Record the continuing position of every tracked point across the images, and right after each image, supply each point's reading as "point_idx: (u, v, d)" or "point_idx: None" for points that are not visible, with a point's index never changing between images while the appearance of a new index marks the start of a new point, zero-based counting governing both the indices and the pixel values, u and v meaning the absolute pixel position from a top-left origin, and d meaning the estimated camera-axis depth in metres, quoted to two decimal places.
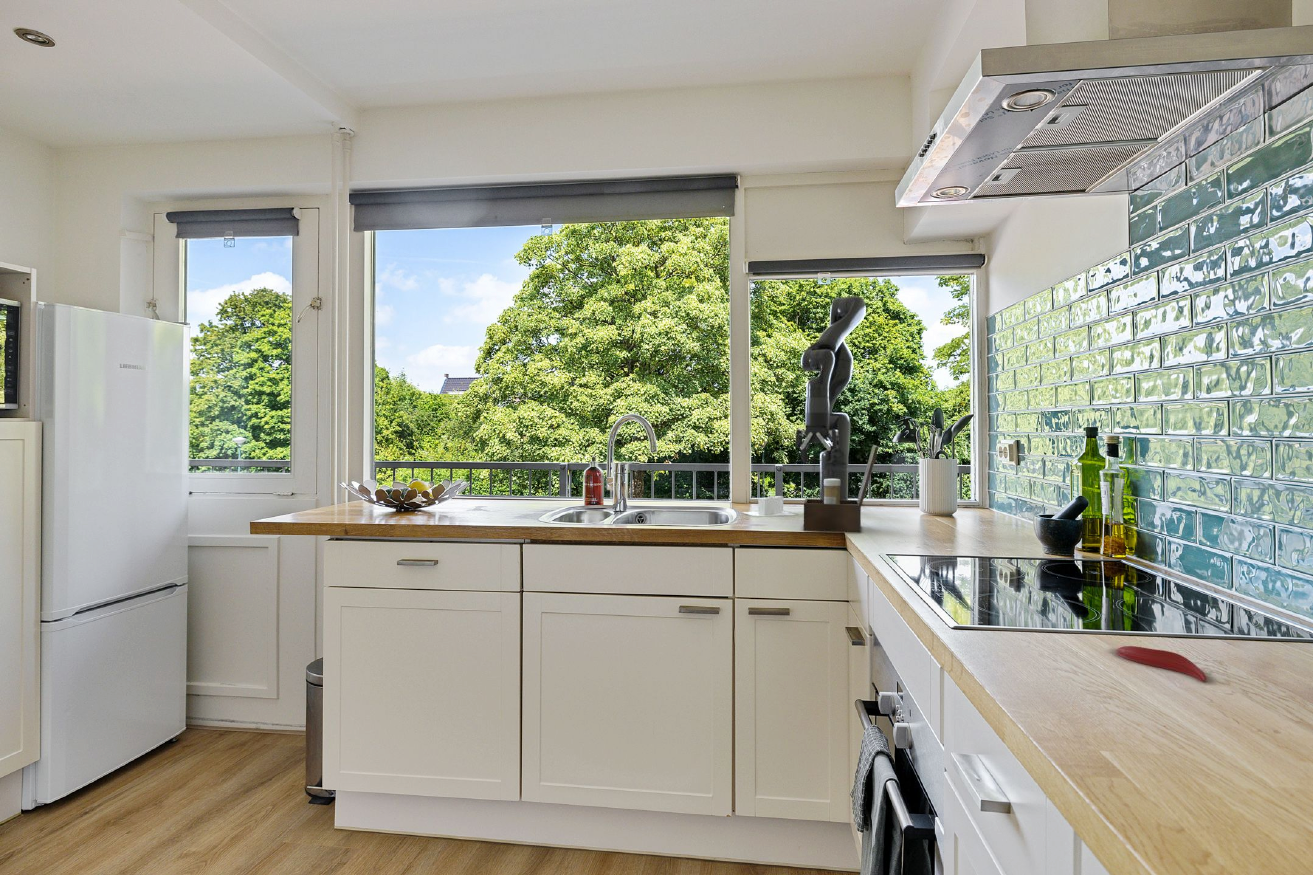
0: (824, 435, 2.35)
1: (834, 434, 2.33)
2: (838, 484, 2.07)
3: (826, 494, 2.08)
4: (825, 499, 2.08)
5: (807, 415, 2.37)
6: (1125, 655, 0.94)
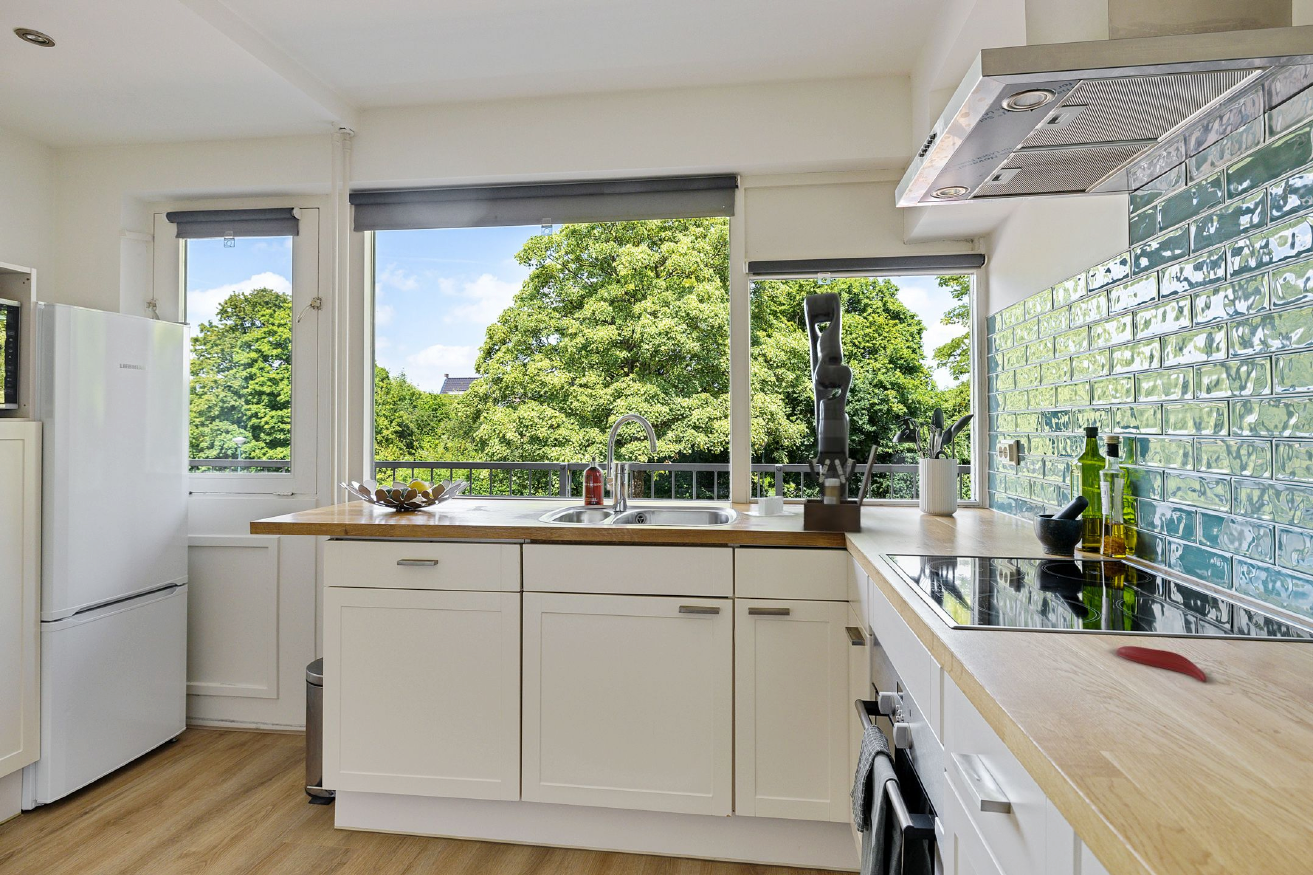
0: (842, 464, 2.07)
1: (854, 465, 2.06)
2: (838, 484, 2.07)
3: (826, 494, 2.08)
4: (825, 499, 2.08)
5: (825, 440, 2.06)
6: (1125, 655, 0.94)
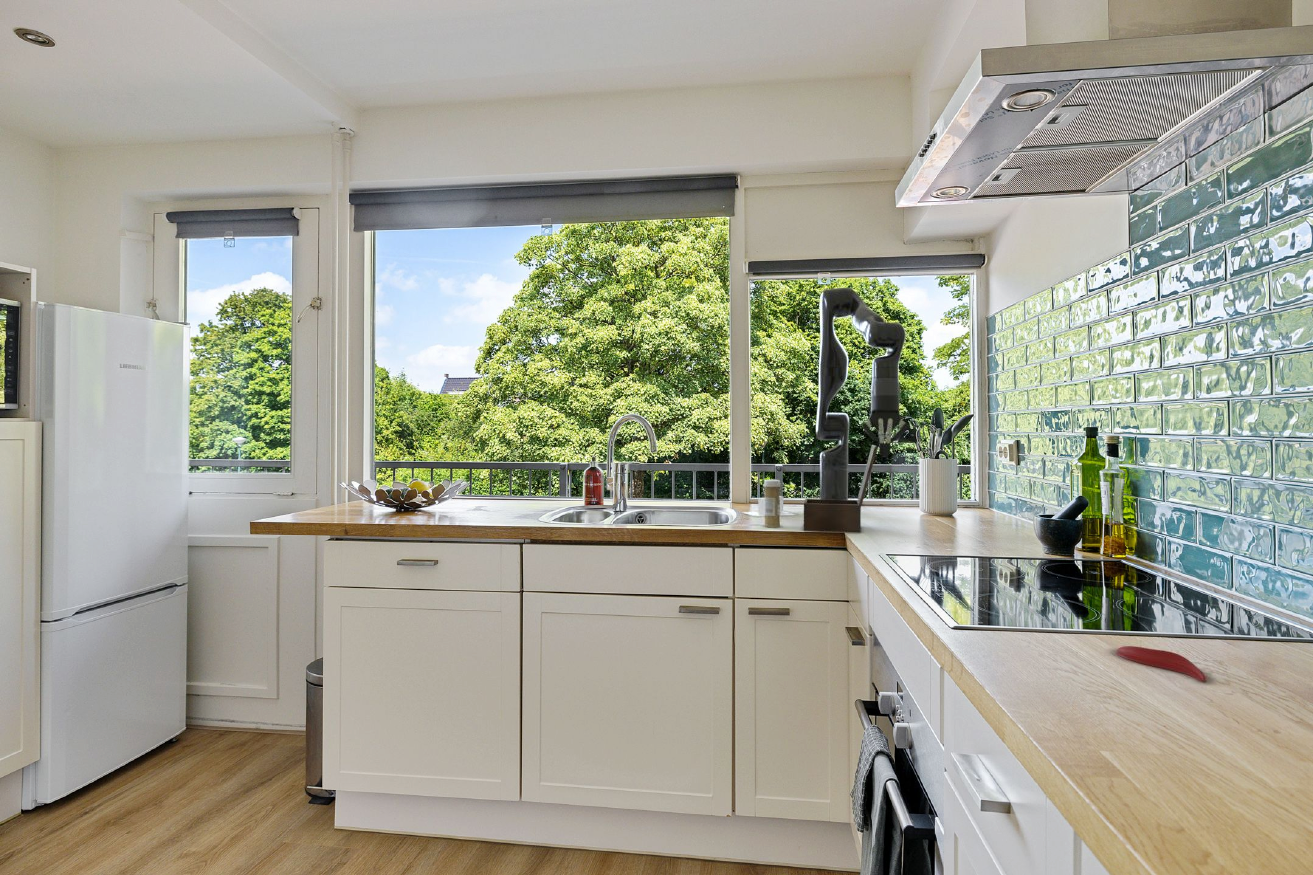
0: (894, 425, 2.04)
1: (905, 428, 2.03)
2: (778, 485, 2.11)
3: (766, 495, 2.12)
4: (765, 500, 2.12)
5: (878, 398, 2.03)
6: (1125, 655, 0.94)
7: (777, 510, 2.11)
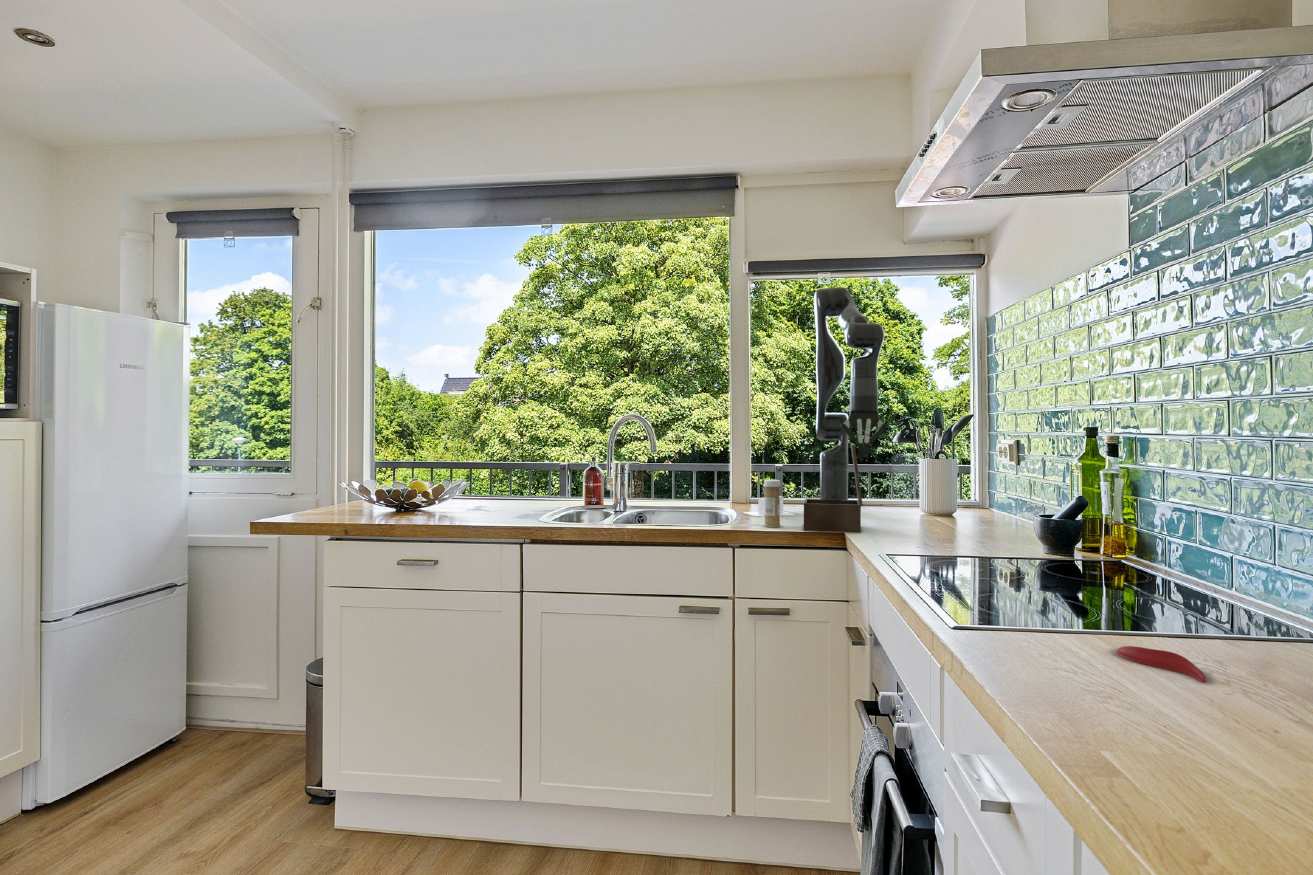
0: (872, 426, 2.05)
1: (883, 428, 2.04)
2: (778, 485, 2.11)
3: (766, 495, 2.12)
4: (765, 500, 2.12)
5: (857, 399, 2.04)
6: (1125, 655, 0.94)
7: (777, 510, 2.11)
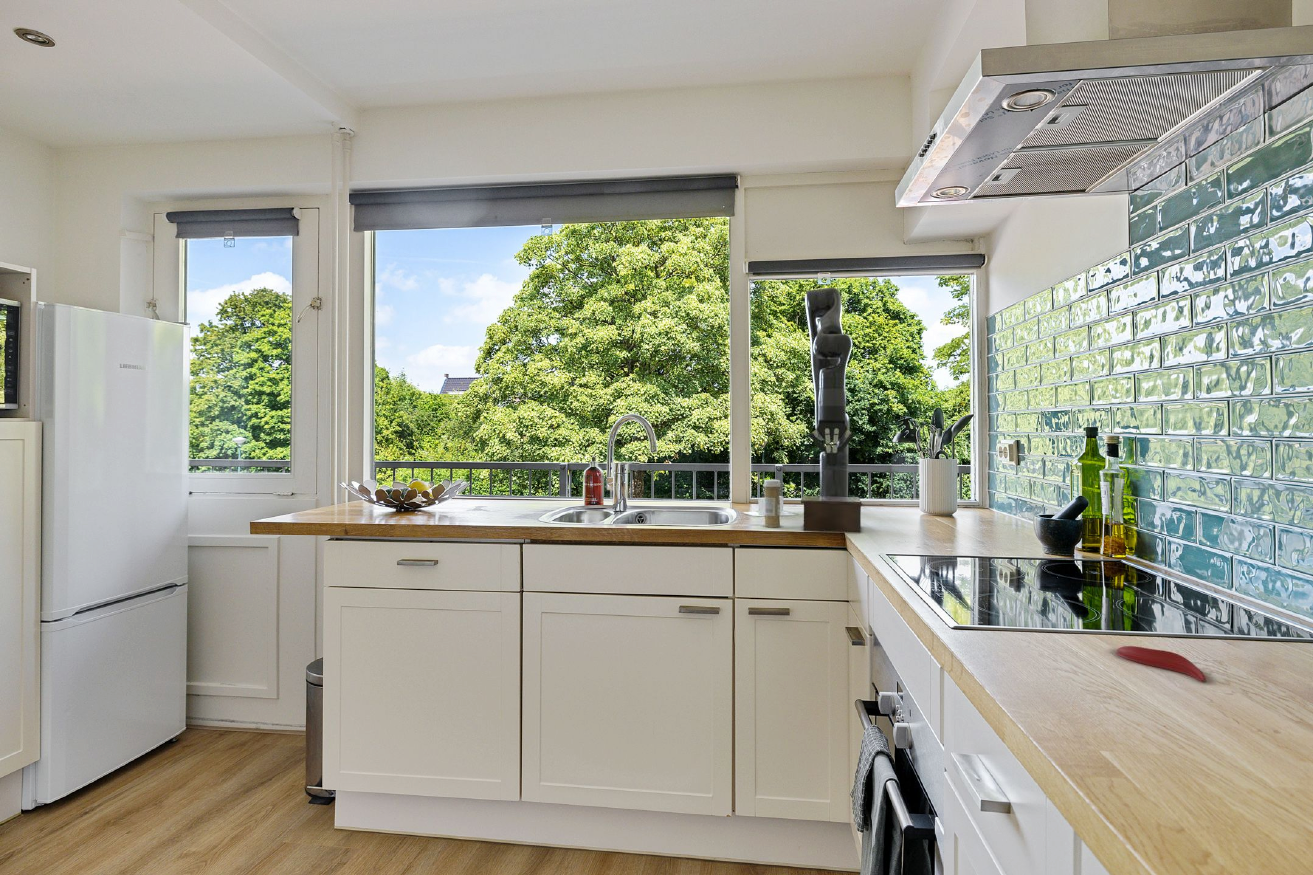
0: (840, 435, 2.07)
1: (851, 438, 2.06)
2: (778, 485, 2.11)
3: (766, 495, 2.12)
4: (765, 500, 2.12)
5: (825, 409, 2.06)
6: (1125, 655, 0.94)
7: (777, 510, 2.11)
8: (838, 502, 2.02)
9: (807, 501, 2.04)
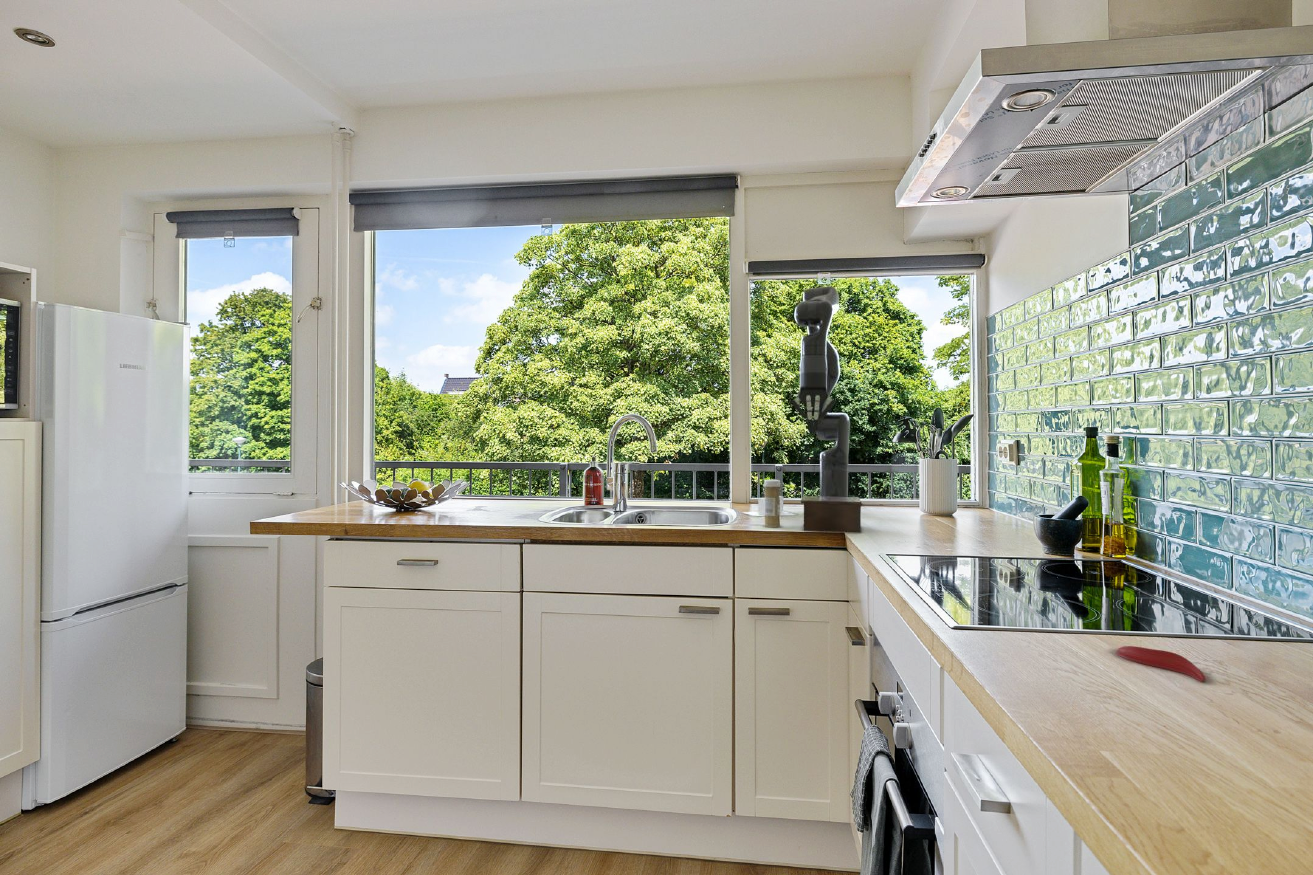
0: (821, 402, 2.08)
1: (832, 405, 2.07)
2: (778, 485, 2.11)
3: (766, 495, 2.12)
4: (765, 500, 2.12)
5: (806, 375, 2.07)
6: (1125, 655, 0.94)
7: (777, 510, 2.11)
8: (838, 502, 2.02)
9: (807, 501, 2.04)
